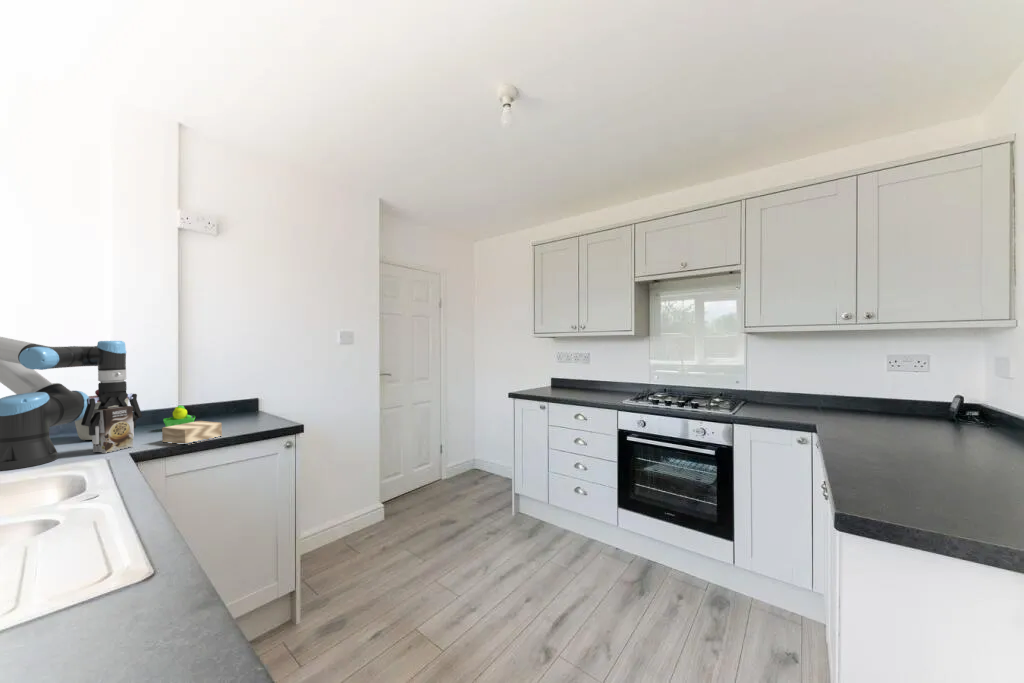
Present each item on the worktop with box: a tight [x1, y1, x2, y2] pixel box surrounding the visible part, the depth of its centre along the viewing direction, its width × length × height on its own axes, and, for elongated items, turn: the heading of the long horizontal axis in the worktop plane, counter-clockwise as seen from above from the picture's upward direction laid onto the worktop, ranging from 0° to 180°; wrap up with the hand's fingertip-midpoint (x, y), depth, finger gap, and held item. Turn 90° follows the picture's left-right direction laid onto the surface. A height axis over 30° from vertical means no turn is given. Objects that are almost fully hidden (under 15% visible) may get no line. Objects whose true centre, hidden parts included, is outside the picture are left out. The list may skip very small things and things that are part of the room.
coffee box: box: [92, 405, 134, 454], centre depth 150 cm, size 9×6×16 cm
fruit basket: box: [163, 405, 196, 427], centre depth 186 cm, size 11×9×11 cm
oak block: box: [161, 420, 223, 444], centre depth 164 cm, size 14×14×6 cm
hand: (113, 440), depth 150 cm, fingers closed on coffee box, 9 cm apart
